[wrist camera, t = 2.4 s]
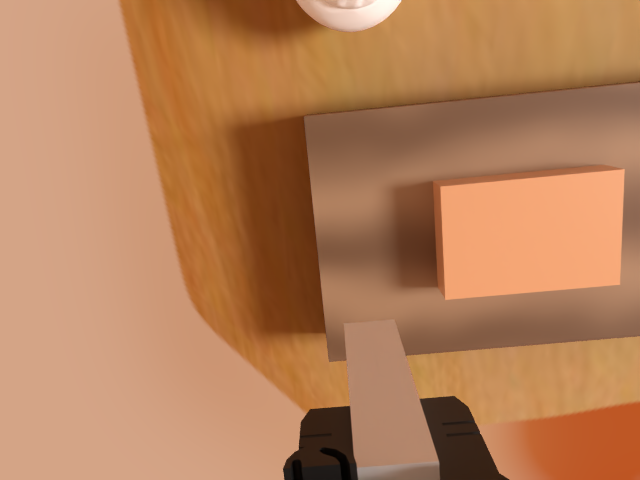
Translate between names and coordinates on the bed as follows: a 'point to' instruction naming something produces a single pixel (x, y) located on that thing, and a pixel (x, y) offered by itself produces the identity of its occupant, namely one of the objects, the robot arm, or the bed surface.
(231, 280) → the bed surface
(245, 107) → the bed surface
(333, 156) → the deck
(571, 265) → the orange rectangular block
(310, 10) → the white steamed bun
